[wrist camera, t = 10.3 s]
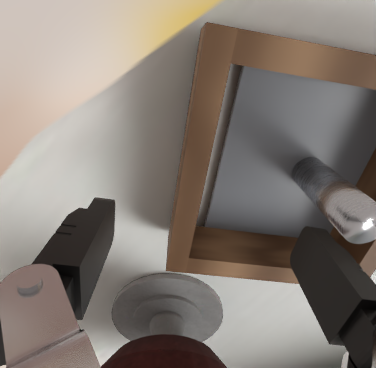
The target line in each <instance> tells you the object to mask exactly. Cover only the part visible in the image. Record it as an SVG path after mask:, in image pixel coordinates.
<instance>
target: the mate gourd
mask: <svg viewBox="0 0 376 368" xmlns="http://www.w3.org/2000/svg"><path fill="white" fill-rule="evenodd" d="M222 318H223V309H222V304H221V301H220V298H219V296H218V295H217V294H216V292H215V291H214V290H213V289H212V288H211V287H210V286H208V285H207V284H205V283H204V282H202V281H200V280H198V279H195V278H193V277H190V276H186V275H181V274H170V273H164V274H153V275H149V276H145V277H142V278H140V279H137V280H135V281H133V282H131V283H130V284H128V285H127V286H125V287H124V288H123V289H122V290H121V291H120V292H119V293H118V295H117V297H116V298H115V301H114V305H113V309H112V320H113V322H114V325H115V327H116V328H117V330H118V331H119V332H120V333H121V334H122V335H123V336H124V337H126V338H127V339H129V340H130V342H129V343H127V344H125V345H123V346H122V347H121V348H120V349H119V350H118V351H117V352H116V353H115V354H113V355H112V356H111V357H110V358H109V359H108V360H107V361H106V362H105V363H104V364H103V365H102V366H101V368H227V367H226V366H225V365H224V364H223V363H222V361H221V360H220V359H219V358H218V357H217V356H216V354H215V353H214V352H213V351H212V350H211V349H210V348H209V347H208V346H206V345H205V344H204V343H202V342H203V341H205V340H206V339H208V338H209V337H210V336H212V335H213V334H214V333H215V332H216V331H217V330H218V328H219V326H220V324H221V322H222Z"/></svg>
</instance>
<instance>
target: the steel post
mask: <svg viewBox="0 0 376 368" xmlns="http://www.w3.org/2000/svg"><path fill="white" fill-rule="evenodd" d="M292 178H293V181H294V182H295V183H296V184H297V185H298V186H299V187H300V189H301V190H302V191H303V192H304V193H305V194H306V195H307V196H308V198H309V199H310V200H311V201H312V202H313V203H314V204H315V205H316V207H317V208H318V209H319V210H320V211H321V212H322V213H323V214H324V216H325V217H326V218H327V219H328V220H329V221H330V222H331V223H332V224H333V226H334V227H335V228H336V229H337V230H338V231H339V232H340V233H341V235H342V236H343V237H344V238H345V239H346V240H347V241H348V242H351V243H354V244H364V243H368V242H371V241H373V240H375V239H376V202H375V201H374V200H373V199H371V198H370V197H369V196H367V195H366V194H365V193H363V192H362V191H361V190H359V189H358V188H357V187H355V186H354V185H353V184H351V183H350V182H349V181H347V180H346V179H345V178H344V177H342V176H341V175H340V174H338V173H337V172H336V171H334V170H333V169H332V168H330V167H329V166H328V165H326V164H325V163H324V162H322V161H321V160H320V159H318V158H315V157H308V158H304V159H302V160H301V161H299V162H298V163H297V164H296V165H295V167H294V168H293V171H292Z"/></svg>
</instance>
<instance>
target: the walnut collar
mask: <svg viewBox="0 0 376 368" xmlns="http://www.w3.org/2000/svg"><path fill="white" fill-rule="evenodd" d="M230 64H236V65H241V66H247V67H252V68H258V69H263V70H269V71H274V72H280V73H286V74H291V75H297V76H302V77H308V78H313V79H319V80H324V81H330V82H335V83H341V84H346V85H352V86H357V87H363V88H368V89H374V90H376V55H372V54H367V53H362V52H357V51H352V50H347V49H342V48H336V47H331V46H326V45H321V44H316V43H311V42H306V41H301V40H295V39H290V38H285V37H280V36H275V35H270V34H265V33H260V32H254V31H249V30H244V29H239V28H234V27H229V26H224V25H219V24H213V23H208V22H207V23H206V24H205V25H204V26H203V28H202V29H201V32H200V38H199V45H198V51H197V57H196V64H195V70H194V76H193V83H192V89H191V96H190V102H189V108H188V115H187V121H186V127H185V134H184V140H183V146H182V153H181V159H180V166H179V172H178V178H177V185H176V191H175V197H174V204H173V210H172V217H171V223H170V229H169V236H168V249H167V263H166V271H172V272H182V273H193V274H203V275H213V276H223V277H234V278H244V279H254V280H265V281H275V282H285V283H295V284H299V282H298V280H297V278H296V276H295V274H294V272H293V270H292V268H291V265H290V255H291V252H292V250H293V248H294V246H295V244H296V242H297V239H298V238H296V237H287V236H278V235H270V234H261V233H252V232H244V231H235V230H227V229H218V228H209V227H201V226H196V222H197V217H198V213H199V208H200V203H201V199H202V194H203V189H204V185H205V180H206V176H207V171H208V166H209V162H210V157H211V152H212V148H213V143H214V138H215V134H216V129H217V124H218V120H219V115H220V111H221V106H222V101H223V97H224V92H225V87H226V83H227V78H228V73H229V69H230ZM355 187H357V188H358V189H359V190H361V191H362V192H363V193H365V194H366V195H367V196H369V197H370V198H371V199H373V200H374V201H375V202H376V148H375V150H374V152H373V154H372V156H371V158H370V160H369V161H368V163H367V165H366V167H365V169H364V171H363V173H362V175H361V176H360V178H359V180H358V182H357V184H356V186H355ZM330 235H331V236H332V237H333V239H334V240H335V241H336V242H337V243H338V244H339V245H341V246H342V247H343V248H345V249H346V250H347V251H348V252H349V253H350V254H351V255H352V257H353V258H354V259H355V260H356V263H358V264H359V265H360V266H361V268H362V269H363V272H366V274H367V275H368V276H369V277H371V275H372V274H373V272H374V271H375V269H376V239H375V240H373V241H371V242H368V243H364V244H354V243H351V242H348V241H347V240H346V239H345V238H344V237H343V236H342V235H341V233H340V232H339V231H338V230H337V229H336V228H335V227H333V229H332V231H331V233H330Z"/></svg>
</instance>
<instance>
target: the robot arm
mask: <svg viewBox="0 0 376 368" xmlns="http://www.w3.org/2000/svg"><path fill="white" fill-rule="evenodd" d="M114 223H115V200H111V199H104V198H94V199H93V201H92V203H91V204H90V206H89V207H88V209H83V208H78V209H77V210H75V211H74V212H72V213H70V214H69V215H68V216H67V217H66V218H65V220H64V221H63V222H62V224H61V226H59V228H58V229H57V231H56V233H55V234H54V235H53V236H52V237H51V239H50V240H49V241H48V243H47V244H46V245H45V247H44V248H43V250H42V251H41V252H40V254H39V255H38V256H37V258H36V259H35V260H34V262H33V263H32V264H31V265H28V266H24V267H22V268H19V269H17V270H15V271H14V272H12V273H10V274H9V275H8V276H7V277H6V278H5V279H4V280H3V281H2V282H1V283H0V366H2V365H6V368H101V367H100V365H99V362H98V360H97V357H96V355H95V352H94V350H93V347H92V345H91V342H90V340H89V337H88V335H87V333H86V332H85V330H81V329H80V328H79V325H78V323H77V320H82V319H83V317H84V314H85V311H86V309H87V306H88V304H89V301H90V299H91V296H92V294H93V291H94V288H95V286H96V283H97V281H98V278H99V276H100V273H101V271H102V268H103V265H104V263H105V260H106V258H107V255H108V253H109V250H110V248H111V245H112V241H113V236H114ZM290 265H291V268H292V270H293V272H294V274H295V276H296V278H297V280H298V282H299V284H300V286H301V288H302V290H303V292H304V294H305V296H306V298H307V300H308V302H309V304H310V306H311V308H312V310H313V312H314V314H315V316H316V318H317V320H318V322H319V324H320V326H321V328H322V330H323V332H324V334H325V336H326V338H327V340H328V342H329V344H332V345H343V346H345V347H346V349H347V351H346V353H345V354H344V355H343V359H342V366H341V368H376V284H375V283H374V282H373V281H372V280H371V278H370V277H369V276H368V275H367V274H366V272H363V269H362V268H361V266H360V265H359V264H358V263H356V260H355V259H354V258H353V257H352V255H351V254H350V253H349V252H348V251H347V250H346V249H345V248H343V247H342V246H341V245H339V244H338V243H337V242H336V241H335V240H334V239H333V237H332V236H331V235H330V234H329V232H328V231H327V230H326V229H324V228H316V227H309V226H306V227H304V228H303V229H302V231H301V233H300V235H299V237H298V239H297V242H296V244H295V246H294V248H293V250H292V252H291V255H290ZM76 319H77V320H76Z"/></svg>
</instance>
